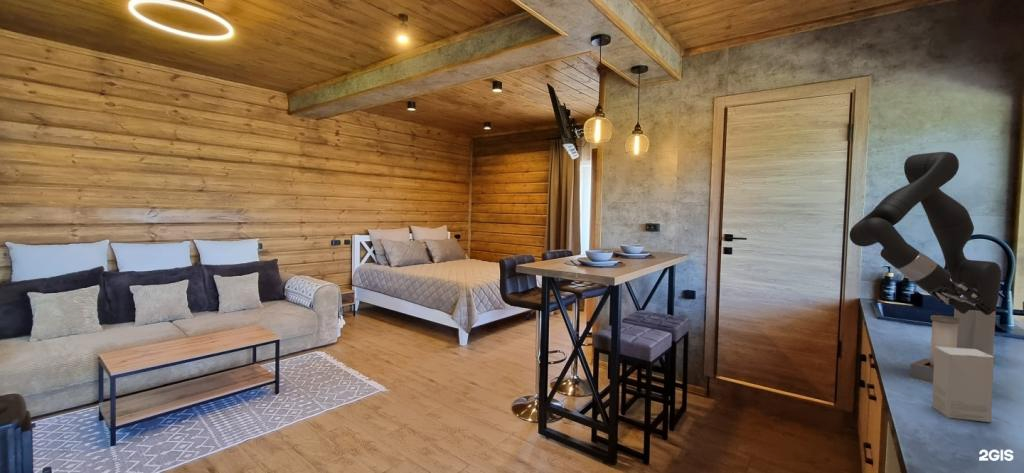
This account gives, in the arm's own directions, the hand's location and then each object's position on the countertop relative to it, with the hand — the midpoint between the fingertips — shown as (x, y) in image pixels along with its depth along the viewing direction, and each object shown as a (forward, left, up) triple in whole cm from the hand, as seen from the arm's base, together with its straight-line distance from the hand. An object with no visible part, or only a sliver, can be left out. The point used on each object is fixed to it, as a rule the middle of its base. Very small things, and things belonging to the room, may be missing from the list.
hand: (978, 312), depth 117 cm
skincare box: (+27, +4, -21) cm, 35 cm away
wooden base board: (-2, -5, -21) cm, 22 cm away
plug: (+4, -5, -20) cm, 21 cm away
